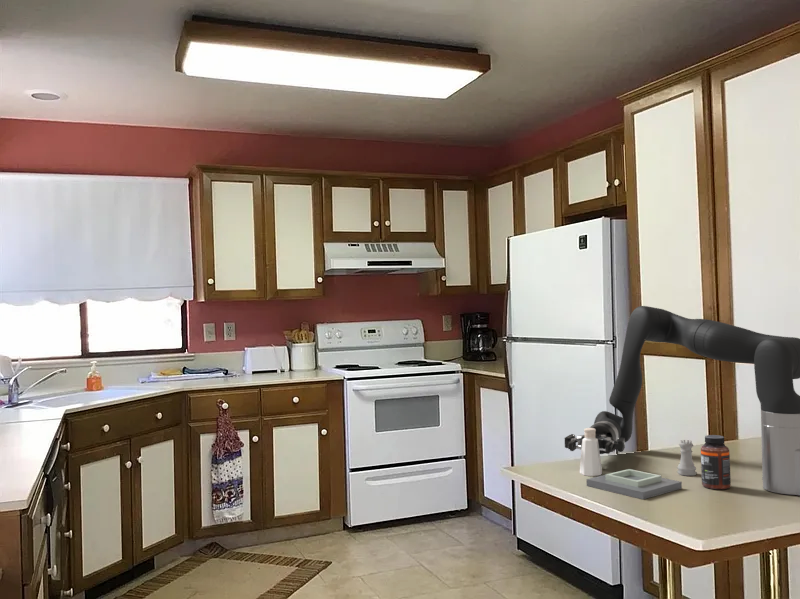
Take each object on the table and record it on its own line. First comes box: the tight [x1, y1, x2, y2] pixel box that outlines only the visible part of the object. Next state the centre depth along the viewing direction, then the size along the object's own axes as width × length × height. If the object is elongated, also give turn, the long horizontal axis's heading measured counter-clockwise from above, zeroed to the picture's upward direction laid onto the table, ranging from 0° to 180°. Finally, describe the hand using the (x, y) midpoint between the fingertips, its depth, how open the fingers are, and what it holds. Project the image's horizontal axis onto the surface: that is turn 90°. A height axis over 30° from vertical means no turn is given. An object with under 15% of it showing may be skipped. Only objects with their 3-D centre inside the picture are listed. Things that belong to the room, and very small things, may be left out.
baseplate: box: [586, 468, 683, 500], centre depth 160 cm, size 15×14×3 cm
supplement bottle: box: [700, 434, 732, 491], centre depth 159 cm, size 6×6×11 cm
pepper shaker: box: [579, 427, 603, 477], centre depth 174 cm, size 5×5×11 cm
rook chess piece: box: [676, 439, 697, 477], centre depth 171 cm, size 4×4×8 cm
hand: (589, 448), depth 172 cm, fingers open, 8 cm apart
